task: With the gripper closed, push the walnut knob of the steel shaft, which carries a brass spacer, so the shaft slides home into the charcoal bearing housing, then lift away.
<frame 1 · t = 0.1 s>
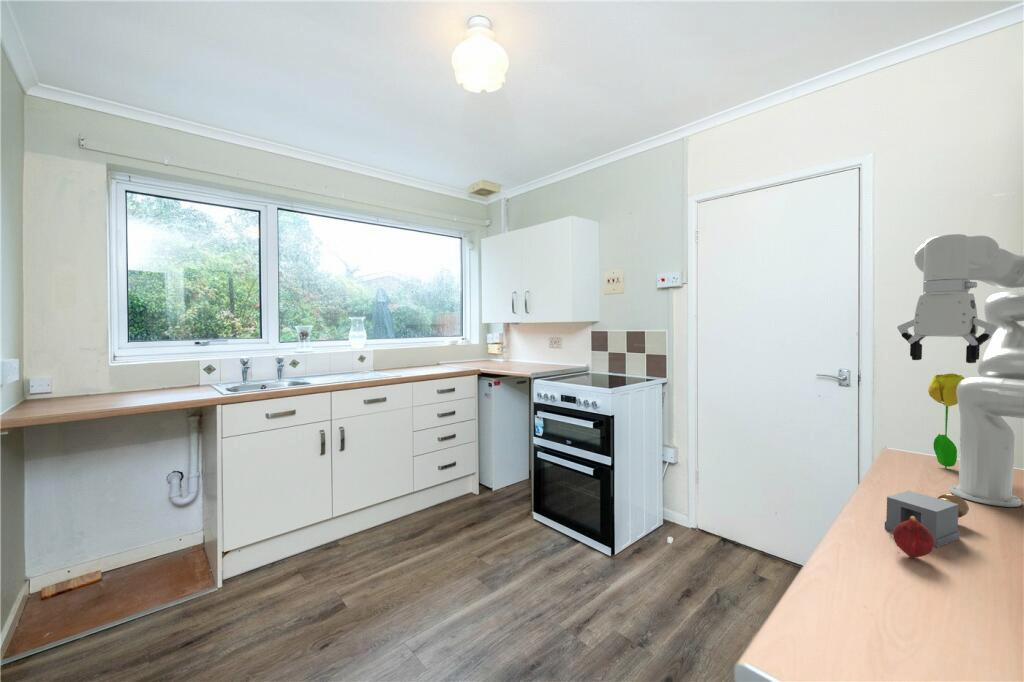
hand: (942, 361, 102), 37 cm above the table, tool pointing down, fingers open, 9 cm apart
onion: (912, 558, 84), on the table
flower: (945, 469, 137), on the table
housing: (921, 533, 93), on the table
shaft: (939, 509, 96), point 4 cm above the table, slide at 5.0 cm
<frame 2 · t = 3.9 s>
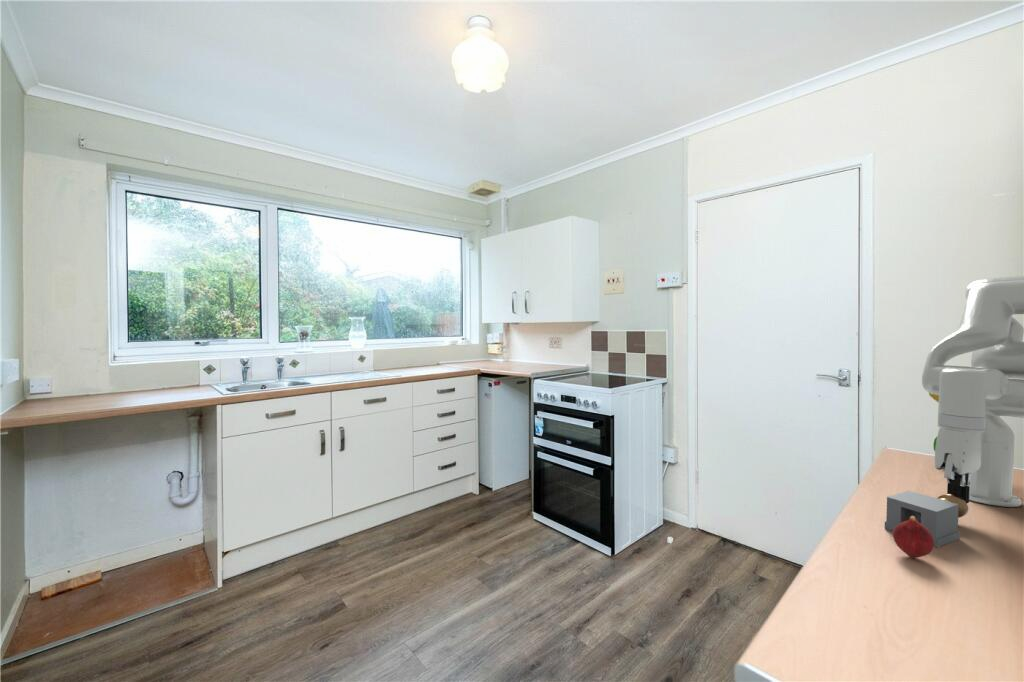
hand: (957, 501, 100), 4 cm above the table, tool pointing down, fingers closed
shaft: (939, 509, 96), point 4 cm above the table, slide at 4.9 cm, touching gripper
everything else where it was.
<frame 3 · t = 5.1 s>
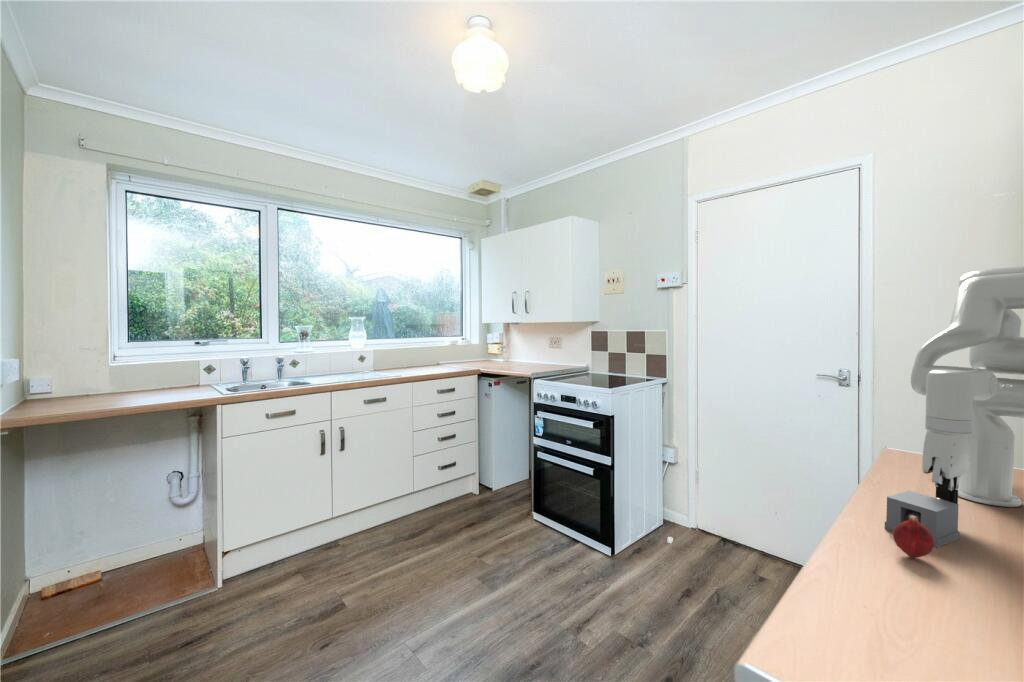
hand: (946, 505, 98), 4 cm above the table, tool pointing down, fingers closed
shaft: (927, 514, 94), point 4 cm above the table, slide at -0.3 cm, touching gripper, housing
everything else where it was.
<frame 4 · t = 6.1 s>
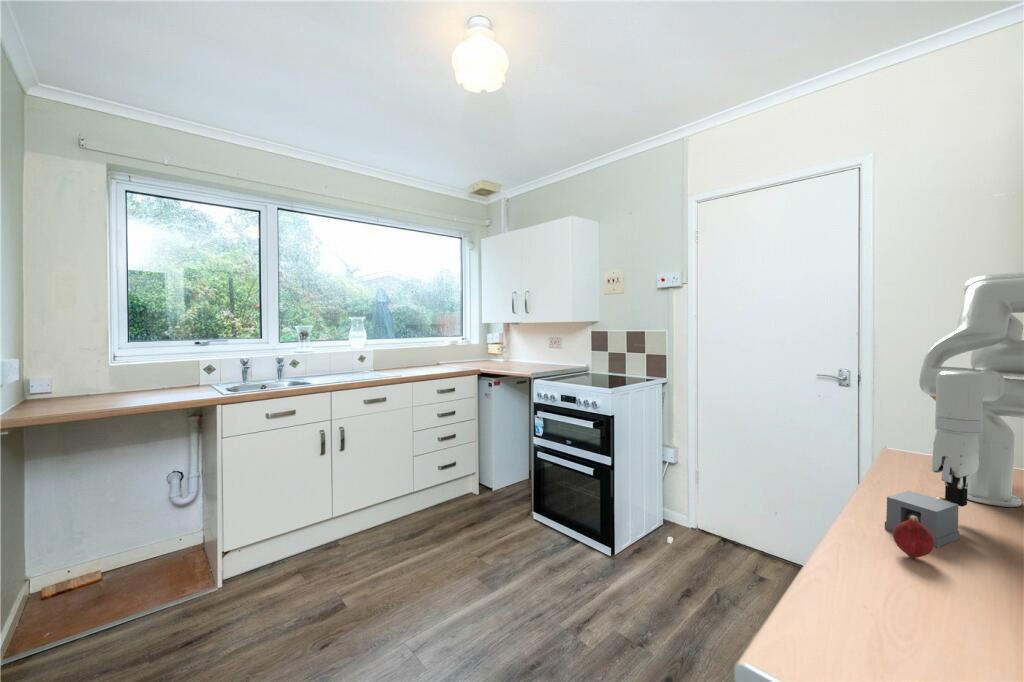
hand: (955, 503, 100), 4 cm above the table, tool pointing down, fingers closed
shaft: (928, 513, 94), point 4 cm above the table, slide at 0.0 cm
everything else where it was.
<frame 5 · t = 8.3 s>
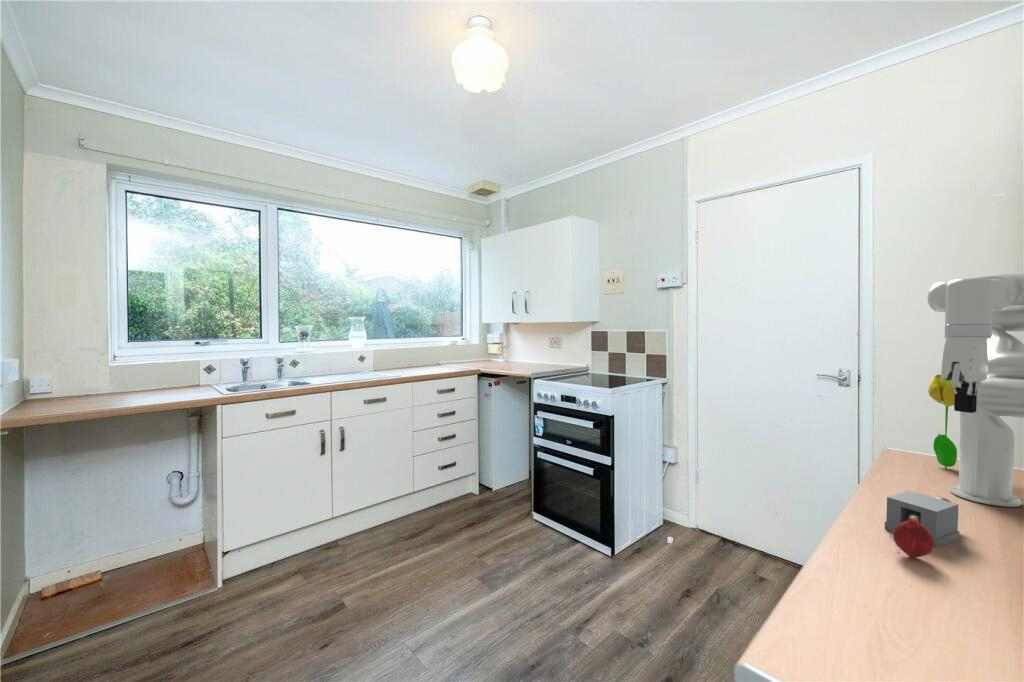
hand: (965, 411, 100), 25 cm above the table, tool pointing down, fingers closed
nothing on the table moved.
at the end: shaft slide at 0.0 cm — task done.
